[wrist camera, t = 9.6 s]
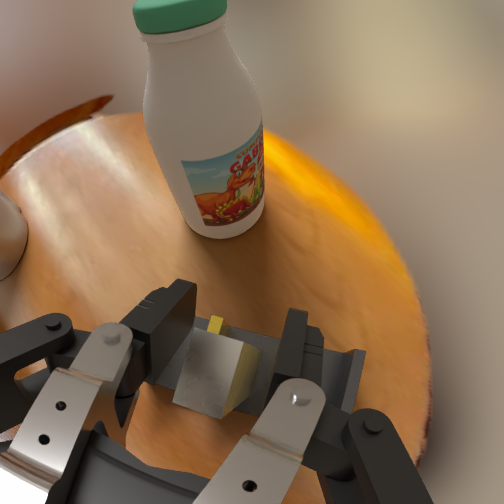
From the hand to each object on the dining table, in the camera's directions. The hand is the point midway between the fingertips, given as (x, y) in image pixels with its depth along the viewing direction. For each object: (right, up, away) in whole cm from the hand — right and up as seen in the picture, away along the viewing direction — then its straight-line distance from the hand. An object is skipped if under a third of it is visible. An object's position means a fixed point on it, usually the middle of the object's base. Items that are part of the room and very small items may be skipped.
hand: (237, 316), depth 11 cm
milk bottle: (-2, +7, +17) cm, 18 cm away
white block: (0, -6, +9) cm, 11 cm away
